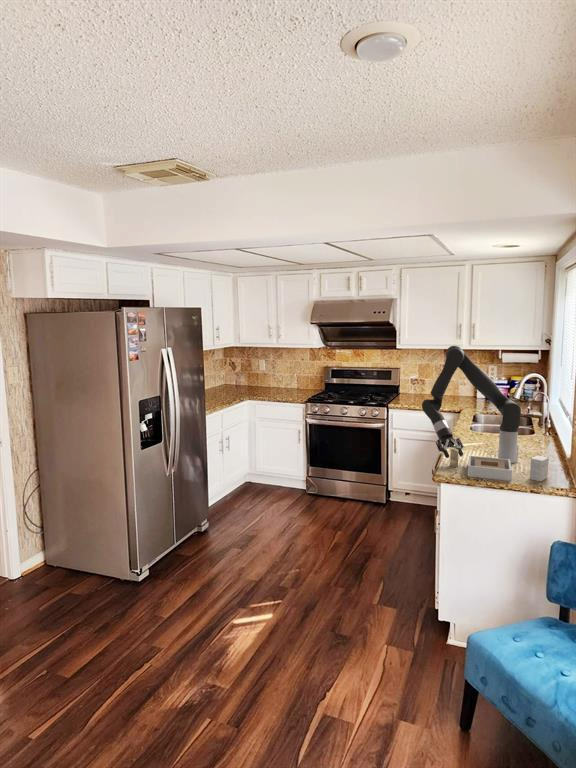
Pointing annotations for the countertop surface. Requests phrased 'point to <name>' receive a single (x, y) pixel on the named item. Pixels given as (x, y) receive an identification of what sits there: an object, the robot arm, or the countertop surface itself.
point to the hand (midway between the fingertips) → (455, 456)
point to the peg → (454, 458)
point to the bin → (489, 468)
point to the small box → (539, 468)
